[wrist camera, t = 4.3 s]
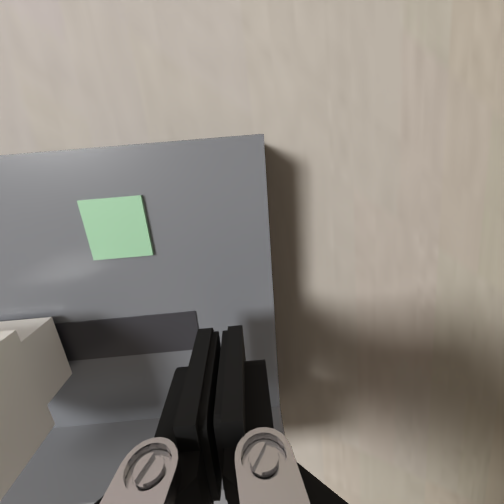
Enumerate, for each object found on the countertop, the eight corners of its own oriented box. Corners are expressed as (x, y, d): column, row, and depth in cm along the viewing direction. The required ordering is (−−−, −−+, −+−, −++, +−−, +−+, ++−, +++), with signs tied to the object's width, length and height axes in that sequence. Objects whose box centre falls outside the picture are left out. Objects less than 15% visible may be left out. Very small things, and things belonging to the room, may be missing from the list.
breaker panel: (258, 140, 13) (275, 118, 6) (275, 402, 18) (294, 530, 12) (-219, 179, 12) (-677, 195, 6) (-63, 434, 17) (-229, 583, 11)
